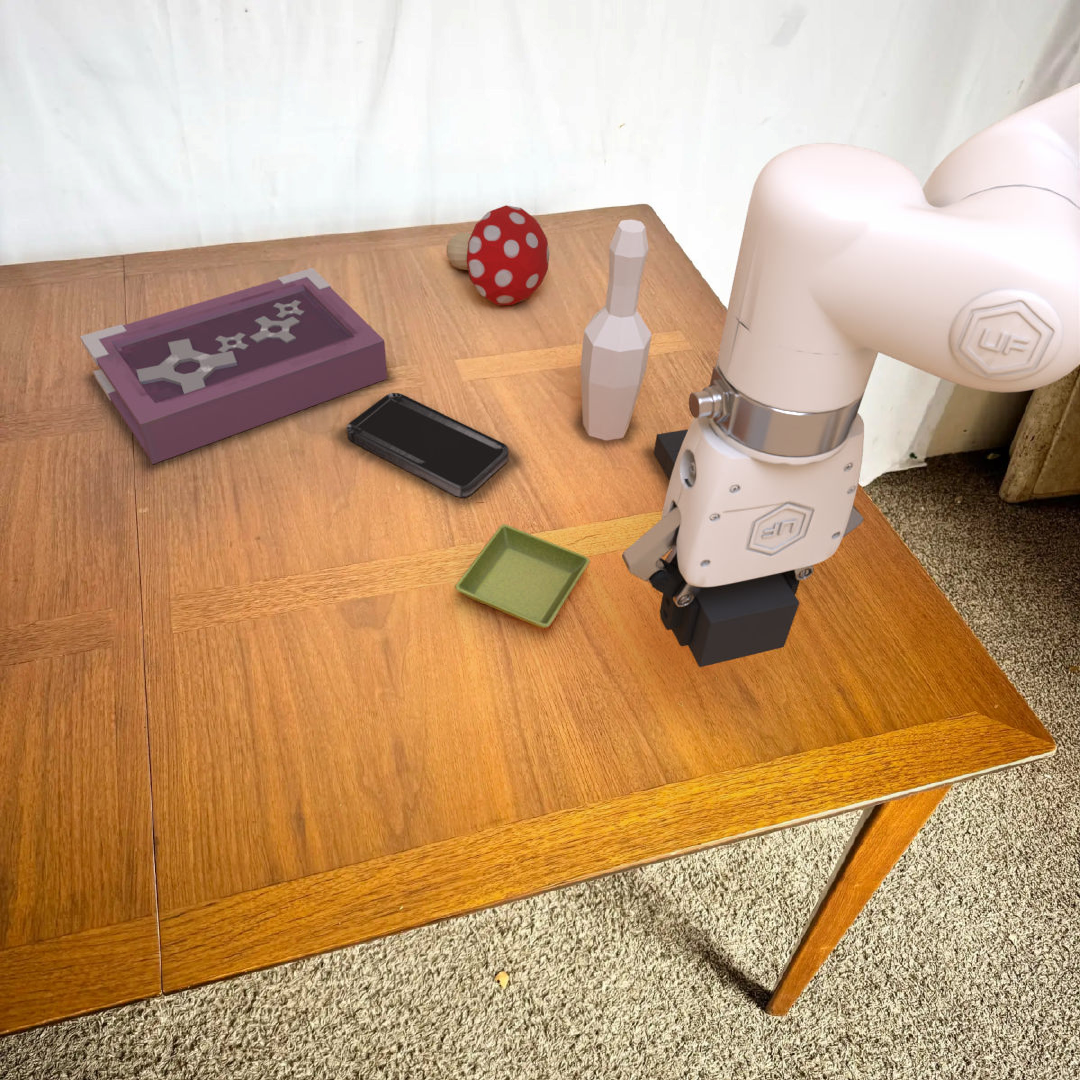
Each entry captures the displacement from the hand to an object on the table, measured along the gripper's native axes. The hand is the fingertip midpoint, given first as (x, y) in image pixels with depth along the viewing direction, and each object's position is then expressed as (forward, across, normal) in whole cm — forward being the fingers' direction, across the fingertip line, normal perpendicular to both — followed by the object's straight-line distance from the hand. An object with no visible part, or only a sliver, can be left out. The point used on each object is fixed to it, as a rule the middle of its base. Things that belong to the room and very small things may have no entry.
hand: (724, 616), depth 63 cm
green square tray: (+14, -8, +17) cm, 24 cm away
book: (+13, -28, +53) cm, 61 cm away
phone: (+14, -12, +37) cm, 41 cm away
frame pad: (+14, +16, +25) cm, 33 cm away
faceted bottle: (+14, +6, +36) cm, 39 cm away
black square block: (+1, 0, 0) cm, 1 cm away
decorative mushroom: (+14, +3, +65) cm, 66 cm away
